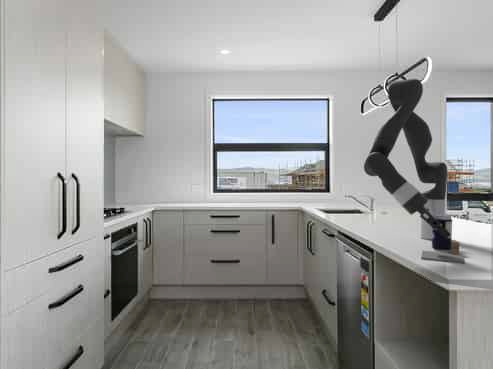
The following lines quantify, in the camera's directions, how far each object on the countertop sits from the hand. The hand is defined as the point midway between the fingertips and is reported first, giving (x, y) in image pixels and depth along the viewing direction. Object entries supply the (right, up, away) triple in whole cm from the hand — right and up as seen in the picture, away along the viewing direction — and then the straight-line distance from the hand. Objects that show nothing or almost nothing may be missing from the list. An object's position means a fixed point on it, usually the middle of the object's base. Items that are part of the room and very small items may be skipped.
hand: (448, 235), depth 117 cm
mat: (-1, -8, +1) cm, 8 cm away
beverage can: (-2, -6, +1) cm, 6 cm away
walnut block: (+5, -8, +8) cm, 12 cm away
